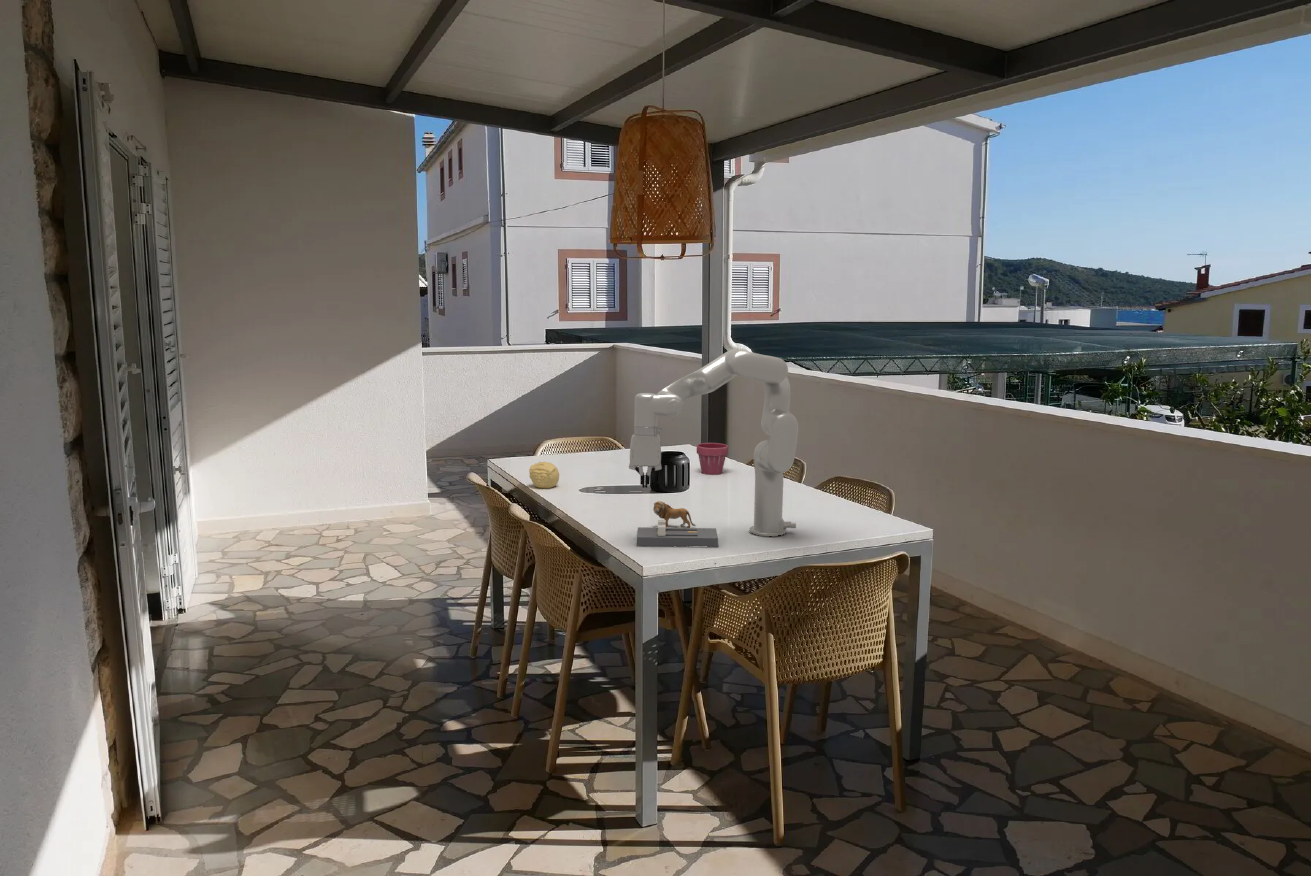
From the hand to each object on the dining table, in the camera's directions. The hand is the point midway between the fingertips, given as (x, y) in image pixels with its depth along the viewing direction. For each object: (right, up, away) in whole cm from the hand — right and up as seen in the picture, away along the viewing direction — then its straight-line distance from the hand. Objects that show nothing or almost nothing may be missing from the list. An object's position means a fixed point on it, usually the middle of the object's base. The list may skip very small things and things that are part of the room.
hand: (644, 486), depth 310 cm
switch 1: (+6, -15, +3) cm, 16 cm away
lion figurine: (+10, -15, +20) cm, 27 cm away
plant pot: (+29, 0, +119) cm, 123 cm away
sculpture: (-42, -5, +85) cm, 95 cm away
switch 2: (+5, -16, -4) cm, 17 cm away
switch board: (+10, -18, 0) cm, 21 cm away
